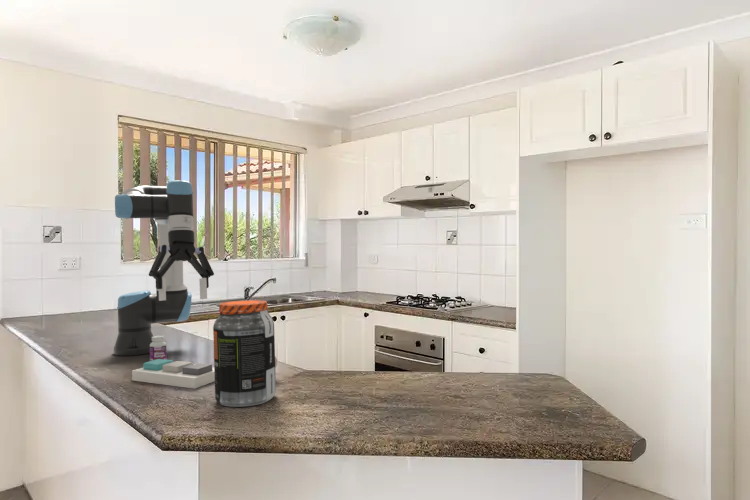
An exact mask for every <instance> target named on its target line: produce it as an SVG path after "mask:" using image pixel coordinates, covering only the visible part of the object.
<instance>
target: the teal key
mask: <svg viewBox="0 0 750 500" xmlns="http://www.w3.org/2000/svg"><path fill="white" fill-rule="evenodd" d="M172 362H174V360H172V359H167V360H165V359H156V360H153V361H150V360H149V361H146V362H143V363H142V364H143V365H142V366H143V367H144V369H147V370H155V371H159V370H162V369H163V365H165V364H168V363H172ZM143 367H142V368H143Z"/></svg>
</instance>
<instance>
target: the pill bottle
mask: <svg viewBox="0 0 750 500" xmlns="http://www.w3.org/2000/svg"><path fill="white" fill-rule="evenodd" d="M164 340H165V335H153V337H152V341H153V342H152V343H151V344H150V353H149V361H153V360H156V359H165V360H168V359H167V357H168V355H167V342H166V341H164Z"/></svg>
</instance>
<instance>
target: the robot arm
mask: <svg viewBox="0 0 750 500" xmlns="http://www.w3.org/2000/svg"><path fill="white" fill-rule="evenodd" d="M193 195H194V192H193V185H192V183H191V182H190V181H187V180H179V179H178V180H171V181H169V182H168V183H167V184H166V186H165V185H137V186H134V187H131V188H127V189H126V190H124V191H122V193H120V194H116V195H115V196H114V213H115V214H114V215H115V217H116V218H119V219H127V220H128V219H154V222H155V223H157V224H158V233H159V235H158V237H159V239H158V240H159V244H158V245H159V246H158V251H157V252H158V253H157V255H156V257H155V259H154V261H153V264H152V266H151V268H150V271H149V272H148V276H149V277H152V278H153V279H155V289H156V293H151V291H150V290H141V291H134V292H133V291H132V292H128V293H124V294H121V295H120V296H119V297H118V298H117V307H116V309H117V321H118V322H117V327H118V328H117V331H118V333H117V337H116V341H115V343H114V347H113V355H115V356H122V357H123V356H124V357H125V356H128V357H131V356H139V355H146V354H150V344H151V343H152V342H153V341H152V337H153V336H154V335H153V332H152V324H163V323H164V324H165V323H174V322H175V323H178V322H185V321H187V320H188V319H189V317H190V314H191V309H192V293H191V291H188V287H187V286H186V285H185V284H184V262H188V263H189V264H190V265H191V266H192V268H193V269H194V270H195V271H196V272H197V274H198V275H199V276H200V277H201V278H199V279H198V281H199V299H200V300H206V299H207V300H208V289H209V278H211V277H212V276H214V275H215V273H214V271H213V268H212V267H211V265H210V261H209V259H208V258H207V255H206V254H205V248H204V247H203V246H199V247H198V246H197V247H195V232H194V229H195V226H194V225H195V223H194V222H195V221H194V196H193ZM195 254H196V255H195Z"/></svg>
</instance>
